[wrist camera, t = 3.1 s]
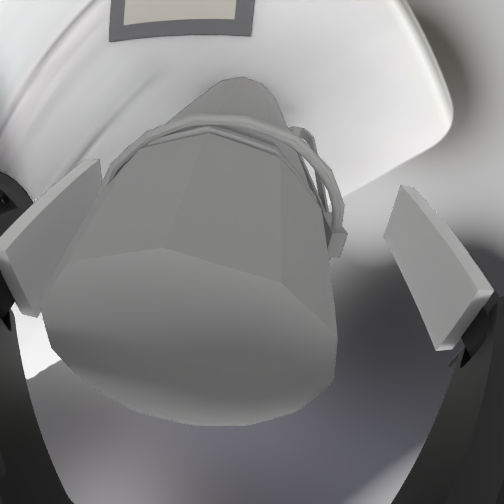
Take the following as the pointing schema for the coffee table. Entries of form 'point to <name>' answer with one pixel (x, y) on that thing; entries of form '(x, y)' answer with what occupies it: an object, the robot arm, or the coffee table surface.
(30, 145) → the coffee table surface
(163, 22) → the coaster mat
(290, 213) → the water bottle
